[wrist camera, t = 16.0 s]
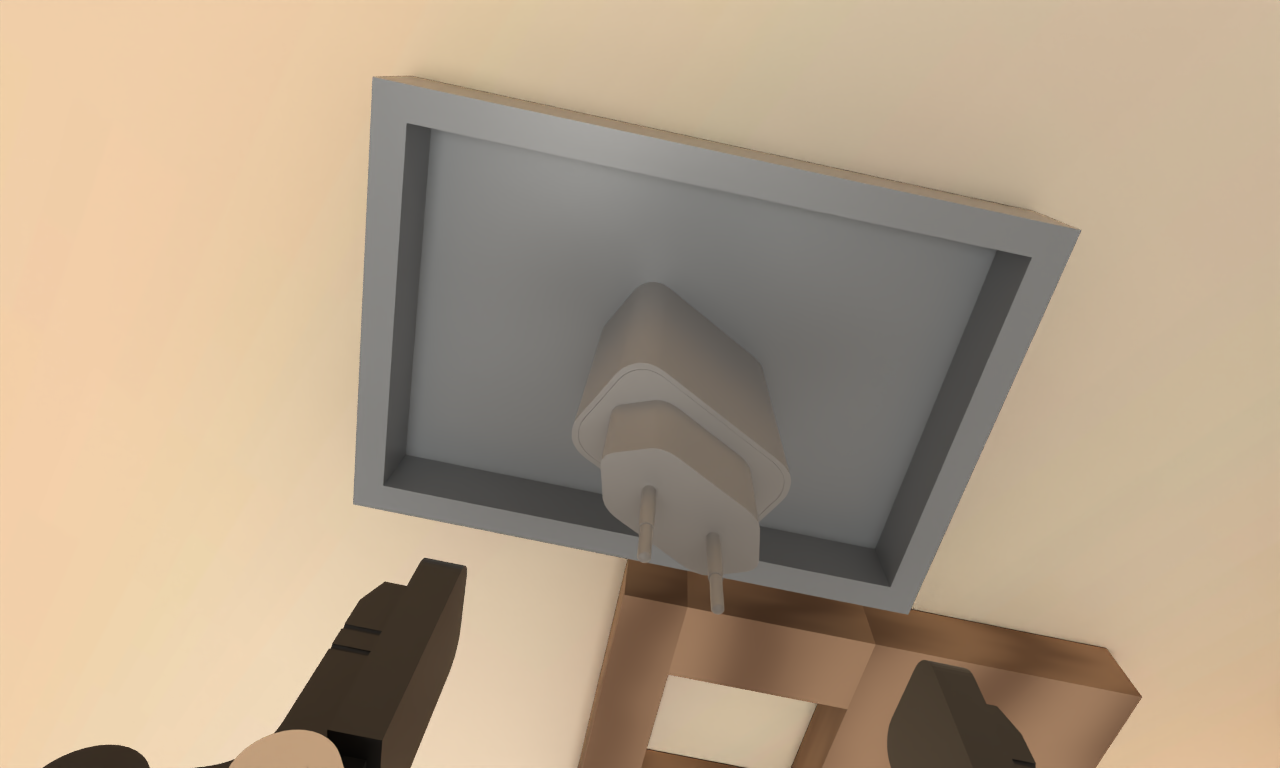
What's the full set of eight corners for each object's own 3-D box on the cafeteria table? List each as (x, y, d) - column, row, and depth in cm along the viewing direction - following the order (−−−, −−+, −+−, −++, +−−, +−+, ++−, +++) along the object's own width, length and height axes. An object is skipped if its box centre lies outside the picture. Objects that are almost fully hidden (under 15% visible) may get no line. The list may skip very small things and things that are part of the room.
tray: (1033, 211, 23) (1081, 230, 20) (886, 562, 29) (908, 614, 26) (410, 75, 22) (372, 76, 20) (385, 461, 28) (353, 504, 25)
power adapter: (649, 272, 24) (621, 448, 13) (772, 371, 25) (842, 613, 14) (591, 340, 25) (518, 558, 14) (711, 433, 26) (732, 702, 15)
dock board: (1106, 648, 30) (1142, 697, 27) (975, 863, 35) (996, 918, 33) (629, 553, 29) (624, 594, 27) (573, 787, 35) (565, 837, 32)
